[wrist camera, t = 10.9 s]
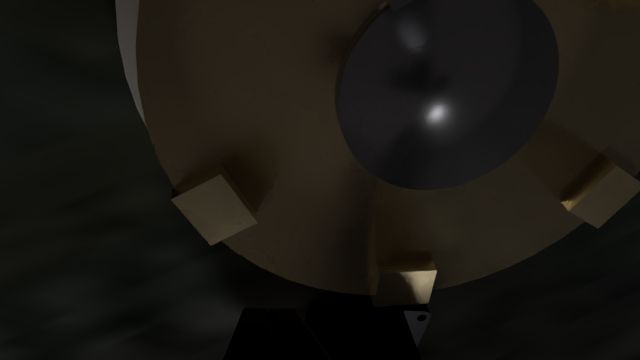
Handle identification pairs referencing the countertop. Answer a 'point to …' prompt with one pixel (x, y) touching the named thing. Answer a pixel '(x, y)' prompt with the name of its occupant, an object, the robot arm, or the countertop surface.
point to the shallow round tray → (392, 131)
